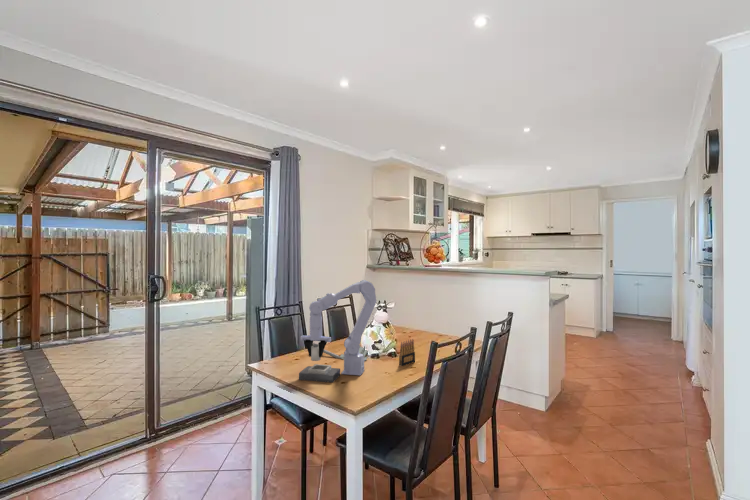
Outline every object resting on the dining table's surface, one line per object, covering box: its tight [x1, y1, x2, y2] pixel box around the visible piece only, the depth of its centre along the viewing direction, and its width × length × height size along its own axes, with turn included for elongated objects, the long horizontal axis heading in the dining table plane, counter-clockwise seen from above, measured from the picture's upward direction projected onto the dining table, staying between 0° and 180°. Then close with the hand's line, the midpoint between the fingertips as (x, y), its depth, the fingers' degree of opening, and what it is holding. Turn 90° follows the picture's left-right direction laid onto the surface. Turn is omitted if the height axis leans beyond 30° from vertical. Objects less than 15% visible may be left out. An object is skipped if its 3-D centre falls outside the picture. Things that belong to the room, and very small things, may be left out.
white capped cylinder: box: [310, 343, 322, 362], centre depth 167 cm, size 4×4×7 cm
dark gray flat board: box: [298, 363, 341, 384], centre depth 162 cm, size 16×10×4 cm, turn 78°
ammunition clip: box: [398, 338, 416, 367], centre depth 184 cm, size 11×2×12 cm, turn 135°
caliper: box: [313, 342, 341, 360], centre depth 197 cm, size 20×1×6 cm, turn 59°
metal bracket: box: [339, 345, 368, 362], centre depth 195 cm, size 14×6×15 cm
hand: (315, 356), depth 166 cm, fingers closed on white capped cylinder, 4 cm apart
